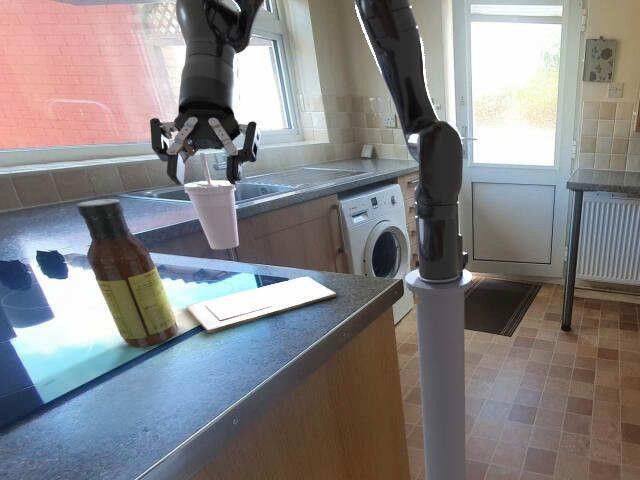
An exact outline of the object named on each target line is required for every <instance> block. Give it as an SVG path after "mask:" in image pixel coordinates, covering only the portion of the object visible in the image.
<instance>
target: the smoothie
mask: <svg viewBox="0 0 640 480" xmlns="http://www.w3.org/2000/svg"><path fill="white" fill-rule="evenodd" d="M199 156H200V160H201V164H202V168H203V173H204V176H205V180H204V181H194V182H188V183H184V184H183V189H184V190H183V191H184V193H185V194H187V195H188V197H189V200H190V203H191V204H192V207H193V209H194V211H195V214H196V216H197V218H198V221H199V223H200V226H201V228H202V230H203V233H204V235H205V237H206V239H207V242H208V244H209V246H210V249H211V250H228V249H234V248H237V247H238V246H240V242H239V231H238V220H237V208H236V198H235V197H236V196H235V191H236V190H237V188H236V185H231V184H230V182H229V181H228V180H212V178H211V175H210V171H209V170H210V169H209V167H208V166H209V165H208V163H207V159H206V158H207V157H206V155H205V152H200V153H199Z"/></svg>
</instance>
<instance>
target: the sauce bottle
mask: <svg viewBox="0 0 640 480" xmlns="http://www.w3.org/2000/svg"><path fill="white" fill-rule="evenodd" d="M76 208H77V211H78V215H80V217H82V218H83V220H84V222H85V225H86V228H87V229H88V233H89V237H90V239H91V242H90V245H89V247H88V249H87V253H86V254H87V255H86V258H87V261H88V262H89V265H90V268H91V269H92V271H93V272H92V273H94V276H95V277H94V278H95V281H96V283H97V285H98V288H99V289H100V292H101V295H102V296H103V298H104V300H105V303H106V306H107V307H108V310H109V313H110V314H111V317H112V319H113V322H114V324H115V326H116V328H117V331H118V333H119V335H120V338H122V339H123V341H124V343H125V344H127V345H128V346H129V347H134V348H141V347H147V346H148V347H149V346H151V347H152V346H155V345H158V344H161V343H164V342H167V341H169V340H171V339H172V338H173V337H175V336H176V335H177V333H179V331H178V330H179V326H178V324H177V319H176V316H175V314H174V310H173V308H172V305H171V303H170V300H169V298H168V294H167V292H166V290H165V287H164V284H163V282H162V281H163V280H162V279H161V276H160V274H159V271H158V268H157V266H156V263H155V262H154V261H153V259H152V256H151V253H150V250H149V248H148V247H147V246H146V245H145V244H143V243H142V242H141V241H140V240H139V239H138V238H137V237H136V236H135V235H134V234H133V233H132V232H131V228H129V227H128V223H127V221H126V218H125V215H124V208H123V205H122V203H121V201H120V200H119V199H112V198H111V199H95V200H86V201H82V202H79V203H77V204H76Z"/></svg>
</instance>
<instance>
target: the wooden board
mask: <svg viewBox="0 0 640 480" xmlns="http://www.w3.org/2000/svg"><path fill="white" fill-rule="evenodd" d="M335 297H338V296H337V292H335V291H333V290H331V289H329V288H328V287H326V286H324V285H323V284H321V283H319V282H318V281H316V280H314V279H312V278H311V277H309V276H303V277H299V278H294V279H290V280H287V281H281V282H278V283H273V284H269V285H266V286H261V287H256V288H254V289H249V290H244V291H241V292H238V293H233V294H229V295H225V296H219V297H217V298H212V299H208V300H204V301H201V302H200V301H199V302H196V303H192V304H187V305H185V307H186V310H187V311H188V312H189V313H190V314H191V316H193V317H194V319H195V320H196V321H197V322H198V323H199V325H201V327H202V329H204V330H205V331H206V333H208V334H212V333H215V332H219V331H223V330H227V329H230V328H233V327H237V326H240V325H243V324H246V323H251V322H253V321H257V320H260V319H264V318H267V317H270V316H274V315H277V314H281V313H284V312H288V311H291V310H294V309H298V308H301V307H304V306H308V305H311V304H315V303H319V302H323V301H325V300H329V299H332V298H335Z"/></svg>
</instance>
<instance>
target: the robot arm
mask: <svg viewBox="0 0 640 480" xmlns="http://www.w3.org/2000/svg"><path fill="white" fill-rule="evenodd" d="M175 1H176V2H175V17H176V21H177V24H178V27H179V30H180V33H181V36H182V39H183V43H184V46H185V58H184V65H183V67H182V70H181V76H180V86H179V96H178V104H177V109H178V110H177V112H178V115H177V116H176V117H175V118H174V120H173V121H164V122H163V121H161V119H159V117H158V118H157V117H153V118H151V119H150V121H149V128H150V141H151V149H152V150H153V152H154V153H155V154H156V156H157V157H158V159H159V160H160V161H161V162H164V163H166V174H167V176H168V177H169V179H170V180H171V181H172V182H174V184H175V185H176V186H184V185H185V172H186V165H185V163H186V161H187V160H188V159H189V158H190V157H194V156H195V155H196V153H198V151H199V150H209V149H212V150H221V151H222V150H223V149H224V150H225V152H226V153H227V156H226V173H225V174H226V179H227V181H229V182H230V184H231V185H235V186H236V185H237V184H238V182H240V181H242V179H243V177H242V175H243V174H242V171H243V164H245V163H246V162H249V163H255V162H257V160H258V155H259V149H260V144H261V139H262V134H261V131H260V127H259V126H258V123H257V122H255V121H253V120H252V121H249V122H248V123H247V124H244V123H240V122H239V118H240V117H239V116H240V113H239V112H240V111H239V110H240V100H241V93H240V84H239V56H238V55H239V54H242V53H244V52H245V51H246V50H247V49H248V47H249V46H250V43H251V39H252V35H253V31H254V28H255V25H256V21H257V18H258V15H259V13H260V10H261V9H262V6H263V4H264V3H265V1H266V0H232V1H233V2H234V3H235V4H236V6H237V9H236V10H235V9H233V8H232V7H231V6H229V5H228V4H226V3H225V2H223V1H222V0H175ZM353 3H354V7H355V10H356V13H357V17H358V19H359V22H360V25H361V28H362V31H363V33H364V34H365V38H366V40H367V43H368V46H369V48H370V50H371V52H372V54H373V56H374V59H375V61H376V65H377V67H378V69H379V71H380V74H381V76H382V79H383V80H384V83H385V85H386V88H387V90H388V92H389V94H390V96H391V99H392V102H393V104H394V107H395V110H396V113H397V117H398V121H399V122H400V123H399V124H400V127H401V131H402V134H403V138H404V141H405V145H406V147H407V150H408V153H409V155H410V156H411V157H412V159H414V161H415V162H416V163H418V182H417V185H416V186H415V188H414V191H413V196H414V197H413V200H414V216H415V232H416V235H415V236H416V251H417V253H416V254H417V260H416V261H415V262H414V263H415V269H418V278H419V280H421V281H422V282H425V283H429V284H446V283H451V282H454V281H456V280H458V279H459V278H460V276H463V270H464V269H465V268H466V266H467V264H468V263H469V253H468V252H465V251H464V242H463V241H464V240H463V239H464V237H463V236H462V235H463V234H460V208H459V207H460V206H459V205H460V202H459V199H460V192H461V190H462V186H463V166H464V164H463V163H464V148H463V141H462V136H461V134H460V132H459V130H458V129H457V127H456V126H454V124H452V123H450V122H449V121H446V120H440V119H439V118H438V115H437V112H436V110H435V108H434V105H433V103H432V100H431V97H430V93H429V90H428V87H427V79H426V69H425V67H426V66H425V56H424V55H425V54H424V46H423V41H422V37H421V36H422V35H421V33H420V29H419V26H418V23H417V20H416V17H415V14H414V11H413V8H412V5H411V2H410V0H353ZM175 132H178V133H176V135H174V138H173V134H174V133H175ZM241 134H243V137H244V141H243V145H242V148H241V149H237V147H236V146H235V144H234V143H233V141H234V140H236V139H237V138H238V137H239V136H240V135H241ZM172 139H173V142H172V143H171V145H170V140H172Z"/></svg>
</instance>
